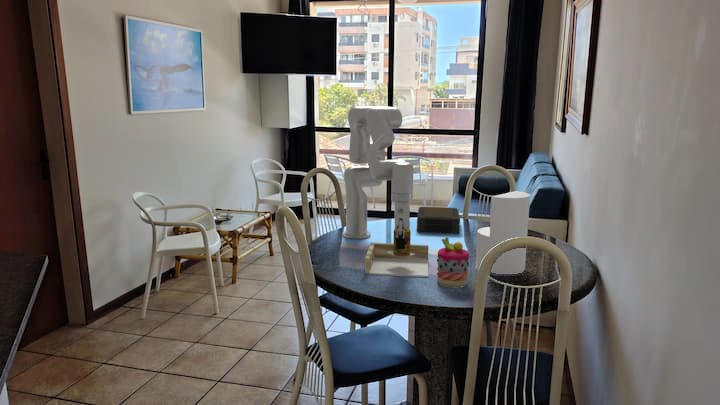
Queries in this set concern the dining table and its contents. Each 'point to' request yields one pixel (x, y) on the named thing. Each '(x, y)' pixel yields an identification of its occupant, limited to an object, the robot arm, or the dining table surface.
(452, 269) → the cake
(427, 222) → the cash box
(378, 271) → the mat
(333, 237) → the dining table surface
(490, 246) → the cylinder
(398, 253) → the condiment
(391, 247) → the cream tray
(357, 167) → the robot arm
